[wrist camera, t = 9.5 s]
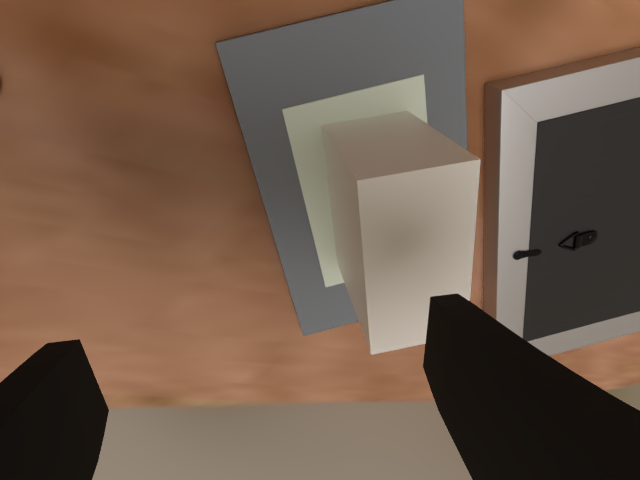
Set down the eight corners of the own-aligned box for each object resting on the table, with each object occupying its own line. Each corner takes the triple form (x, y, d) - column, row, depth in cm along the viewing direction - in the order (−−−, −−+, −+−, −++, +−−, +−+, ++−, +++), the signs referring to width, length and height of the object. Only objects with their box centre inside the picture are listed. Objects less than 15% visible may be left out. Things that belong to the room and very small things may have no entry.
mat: (216, 41, 15) (215, 43, 15) (455, -16, 16) (464, -17, 15) (301, 328, 22) (303, 337, 22) (465, 284, 23) (471, 292, 22)
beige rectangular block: (337, 262, 20) (370, 355, 15) (321, 124, 17) (357, 180, 12) (409, 249, 20) (467, 334, 15) (407, 110, 17) (480, 159, 12)
